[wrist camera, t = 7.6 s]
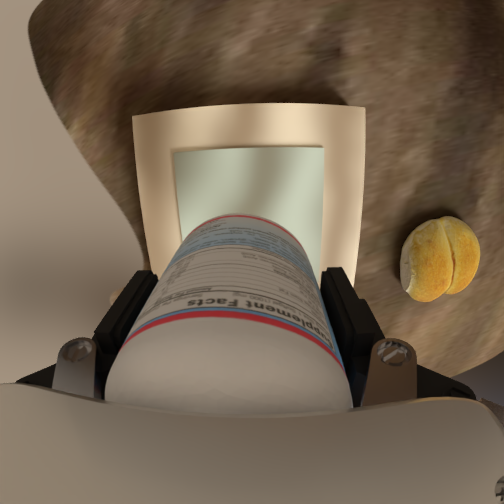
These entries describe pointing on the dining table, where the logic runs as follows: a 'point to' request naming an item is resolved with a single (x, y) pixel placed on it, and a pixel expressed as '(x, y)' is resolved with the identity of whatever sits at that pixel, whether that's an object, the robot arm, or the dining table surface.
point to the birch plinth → (254, 175)
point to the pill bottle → (233, 329)
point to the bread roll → (438, 258)
